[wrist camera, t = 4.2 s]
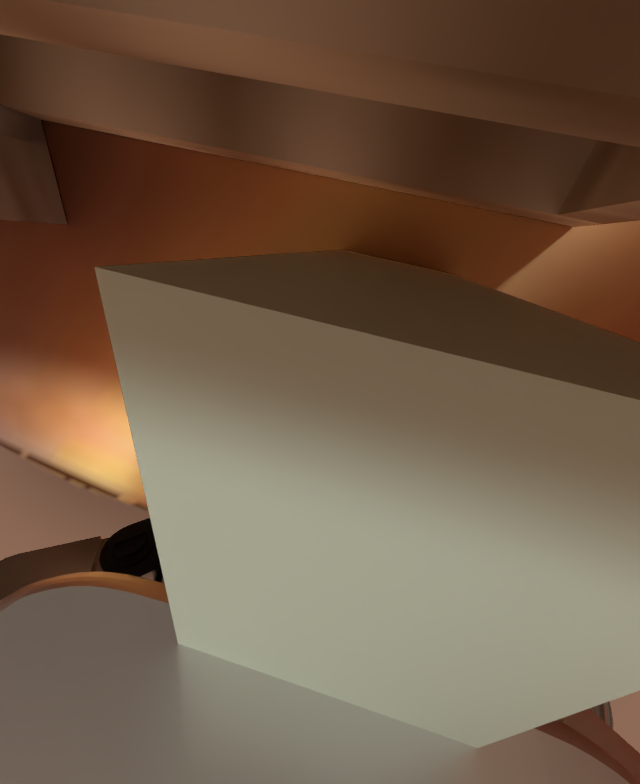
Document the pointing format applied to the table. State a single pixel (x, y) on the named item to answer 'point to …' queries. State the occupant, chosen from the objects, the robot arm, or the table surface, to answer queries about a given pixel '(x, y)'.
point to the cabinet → (341, 95)
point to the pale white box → (387, 483)
